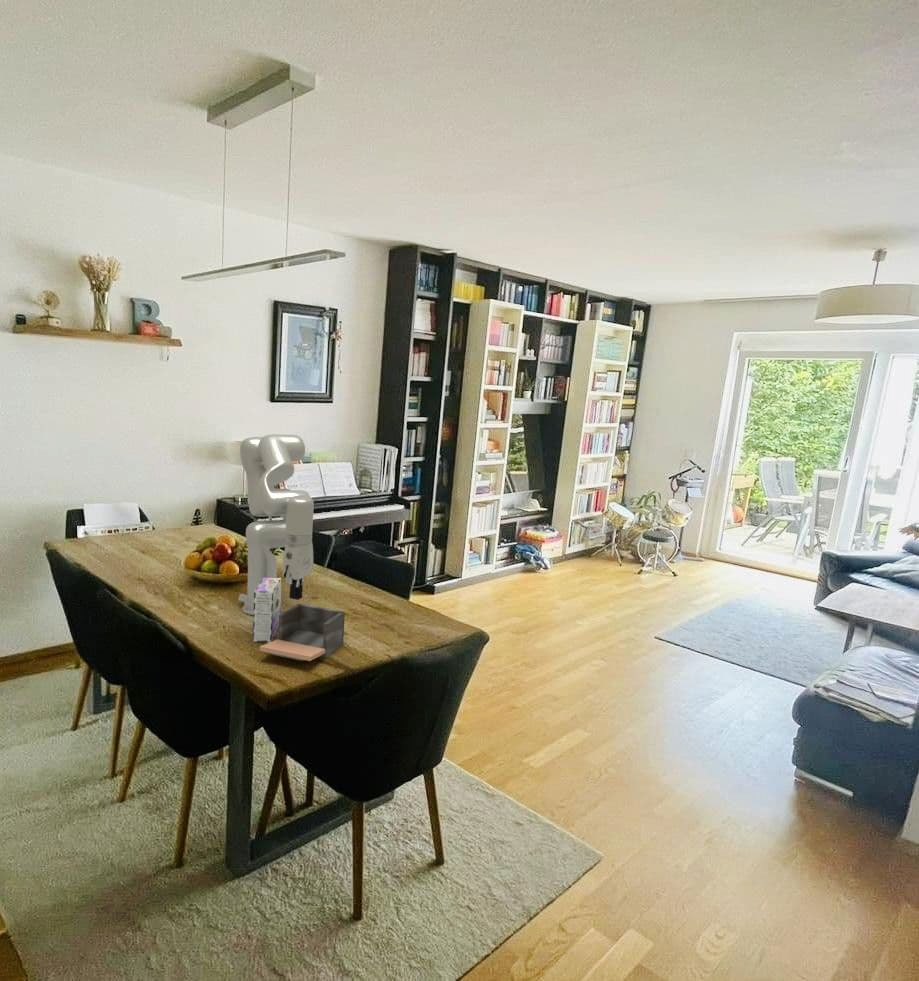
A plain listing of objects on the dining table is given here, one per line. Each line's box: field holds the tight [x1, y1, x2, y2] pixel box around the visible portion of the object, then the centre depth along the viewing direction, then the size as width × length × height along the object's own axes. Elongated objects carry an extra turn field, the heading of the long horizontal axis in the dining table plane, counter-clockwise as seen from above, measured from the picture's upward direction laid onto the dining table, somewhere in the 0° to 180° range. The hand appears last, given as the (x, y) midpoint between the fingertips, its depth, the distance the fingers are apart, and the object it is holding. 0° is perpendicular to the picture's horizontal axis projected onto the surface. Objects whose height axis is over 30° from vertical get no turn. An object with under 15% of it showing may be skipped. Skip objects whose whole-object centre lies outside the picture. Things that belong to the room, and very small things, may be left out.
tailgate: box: [259, 639, 326, 662], centre depth 177 cm, size 16×2×9 cm
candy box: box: [252, 577, 282, 643], centre depth 193 cm, size 14×6×16 cm, turn 5°
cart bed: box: [277, 603, 346, 659], centre depth 187 cm, size 16×11×10 cm
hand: (295, 598), depth 182 cm, fingers closed
